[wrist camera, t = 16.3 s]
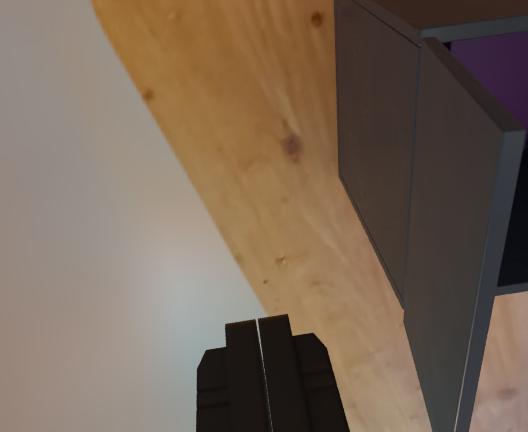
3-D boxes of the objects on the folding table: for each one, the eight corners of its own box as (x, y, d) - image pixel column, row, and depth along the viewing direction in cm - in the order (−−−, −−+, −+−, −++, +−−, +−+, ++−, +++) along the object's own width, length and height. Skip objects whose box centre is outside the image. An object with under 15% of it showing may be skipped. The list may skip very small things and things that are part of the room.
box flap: (413, 321, 20) (402, 321, 20) (435, 35, 14) (420, 36, 14) (459, 481, 14) (445, 482, 14) (528, 129, 9) (504, 131, 9)
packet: (496, 127, 29) (525, 150, 26) (419, 139, 29) (440, 162, 26) (516, -4, 25) (551, 8, 22) (427, 9, 25) (452, 22, 22)
